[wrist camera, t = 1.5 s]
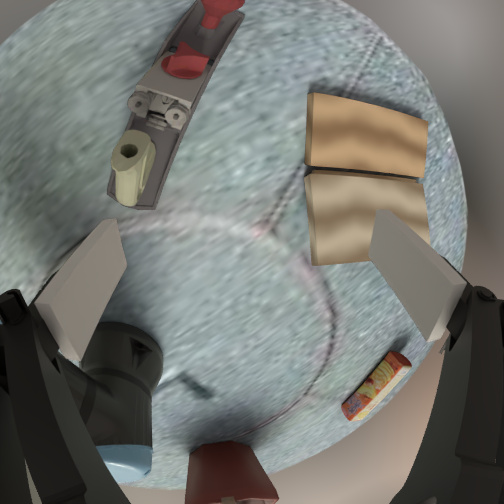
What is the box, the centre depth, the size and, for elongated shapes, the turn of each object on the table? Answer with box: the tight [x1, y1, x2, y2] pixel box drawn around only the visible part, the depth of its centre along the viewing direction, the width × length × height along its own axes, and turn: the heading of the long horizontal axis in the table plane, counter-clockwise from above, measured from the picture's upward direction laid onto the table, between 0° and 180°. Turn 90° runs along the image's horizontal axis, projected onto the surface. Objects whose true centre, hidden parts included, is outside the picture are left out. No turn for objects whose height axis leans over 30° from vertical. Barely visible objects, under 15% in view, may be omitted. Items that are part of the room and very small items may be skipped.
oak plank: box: [305, 92, 428, 178], centre depth 36 cm, size 10×22×2 cm, turn 88°
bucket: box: [185, 441, 279, 504], centre depth 50 cm, size 24×22×25 cm
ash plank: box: [304, 170, 430, 266], centre depth 39 cm, size 13×22×2 cm, turn 89°
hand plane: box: [107, 0, 245, 210], centre depth 23 cm, size 7×31×15 cm, turn 156°
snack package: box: [341, 351, 412, 421], centre depth 59 cm, size 21×7×7 cm, turn 152°
